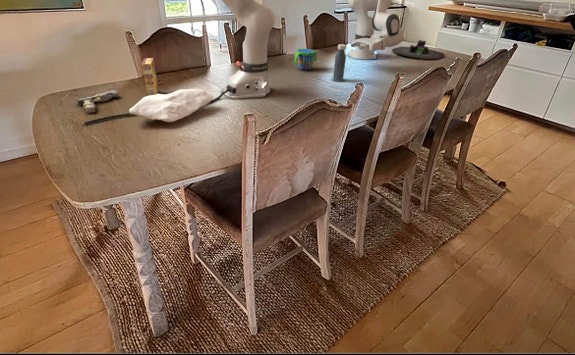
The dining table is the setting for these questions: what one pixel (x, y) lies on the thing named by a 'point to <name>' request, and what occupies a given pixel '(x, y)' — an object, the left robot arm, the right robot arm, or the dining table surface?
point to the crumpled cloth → (171, 104)
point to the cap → (341, 46)
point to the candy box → (150, 76)
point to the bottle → (339, 66)
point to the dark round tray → (418, 51)
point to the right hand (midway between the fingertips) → (355, 46)
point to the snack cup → (305, 58)
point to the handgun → (95, 100)
